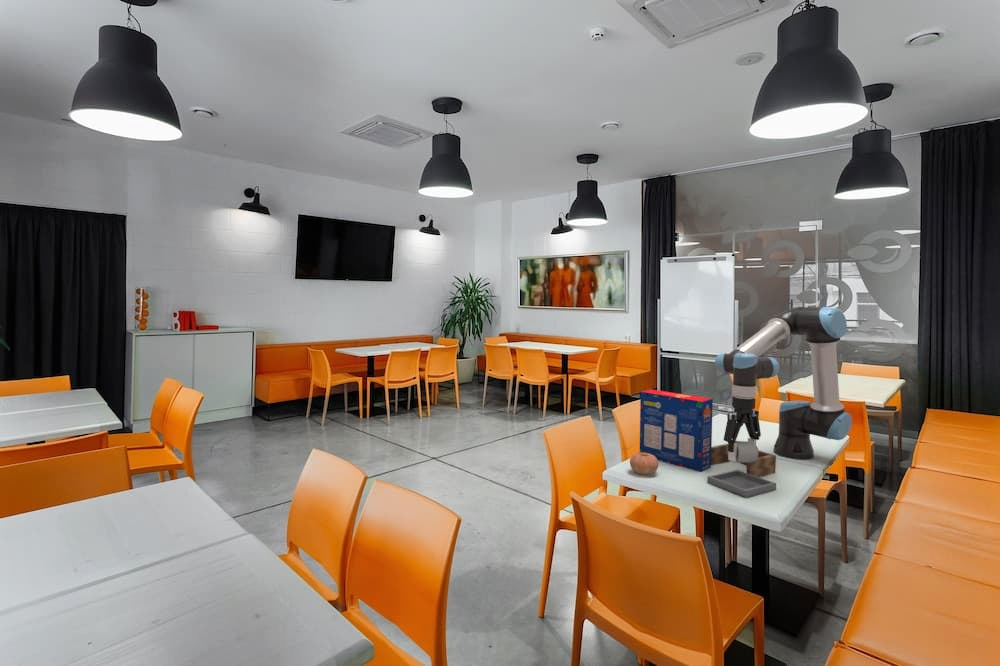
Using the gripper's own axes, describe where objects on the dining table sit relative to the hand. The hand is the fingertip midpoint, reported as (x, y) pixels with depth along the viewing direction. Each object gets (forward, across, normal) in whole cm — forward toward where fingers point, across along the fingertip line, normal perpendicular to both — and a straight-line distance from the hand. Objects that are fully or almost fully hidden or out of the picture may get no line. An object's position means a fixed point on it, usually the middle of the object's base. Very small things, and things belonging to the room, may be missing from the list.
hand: (741, 458), depth 183 cm
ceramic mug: (+1, 0, -1) cm, 2 cm away
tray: (+10, 0, 0) cm, 10 cm away
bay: (+10, -17, -13) cm, 23 cm away
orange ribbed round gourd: (+11, +21, -27) cm, 36 cm away
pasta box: (+11, 0, -32) cm, 34 cm away
